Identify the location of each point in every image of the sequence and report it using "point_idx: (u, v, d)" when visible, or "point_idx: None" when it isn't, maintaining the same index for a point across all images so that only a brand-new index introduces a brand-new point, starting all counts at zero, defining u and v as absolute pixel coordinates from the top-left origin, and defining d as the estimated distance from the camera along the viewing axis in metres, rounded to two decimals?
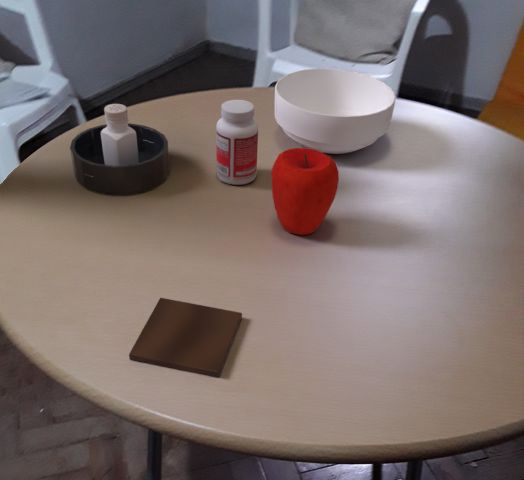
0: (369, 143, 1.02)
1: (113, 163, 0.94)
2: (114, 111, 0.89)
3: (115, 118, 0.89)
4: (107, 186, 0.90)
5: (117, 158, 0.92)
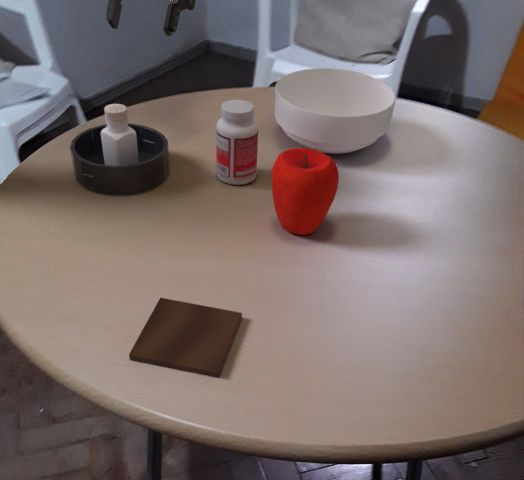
0: (369, 143, 1.02)
1: (113, 163, 0.94)
2: (114, 111, 0.89)
3: (115, 118, 0.89)
4: (107, 186, 0.90)
5: (117, 158, 0.92)
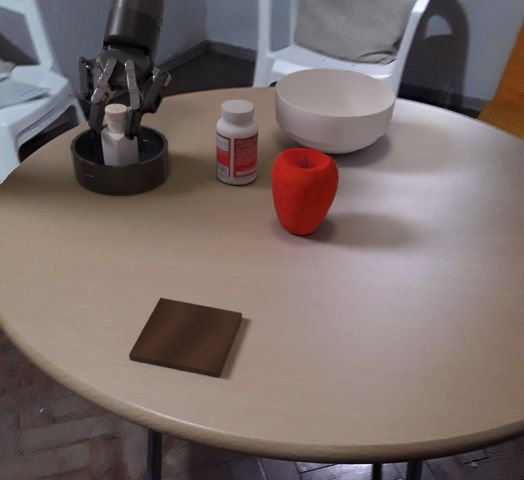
0: (369, 143, 1.02)
1: (113, 163, 0.94)
2: (115, 112, 0.89)
3: (116, 118, 0.89)
4: (107, 186, 0.90)
5: (117, 158, 0.92)
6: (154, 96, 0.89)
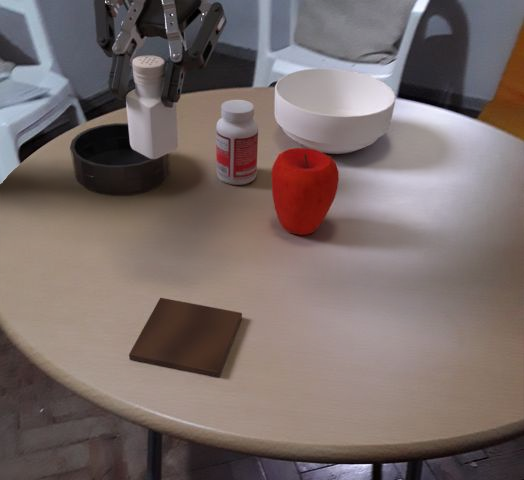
0: (369, 143, 1.02)
1: (143, 141, 0.66)
2: (148, 65, 0.62)
3: (149, 75, 0.62)
4: (107, 186, 0.90)
5: (149, 133, 0.65)
6: (204, 43, 0.61)
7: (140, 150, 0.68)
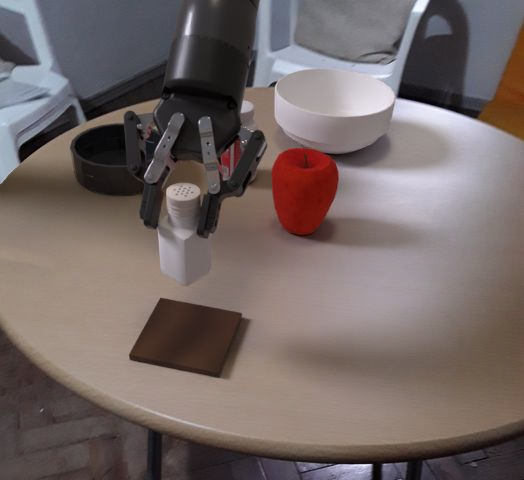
0: (369, 143, 1.02)
1: (175, 269, 0.62)
2: (183, 198, 0.57)
3: (184, 207, 0.57)
4: (107, 186, 0.90)
5: (183, 263, 0.60)
6: (244, 174, 0.57)
7: (172, 276, 0.63)
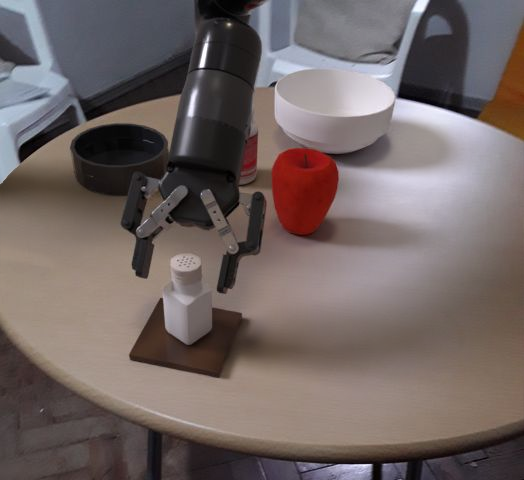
0: (369, 143, 1.02)
1: (179, 329, 0.67)
2: (186, 269, 0.63)
3: (187, 277, 0.63)
4: (107, 186, 0.90)
5: (186, 325, 0.66)
6: (257, 233, 0.62)
7: (175, 335, 0.69)
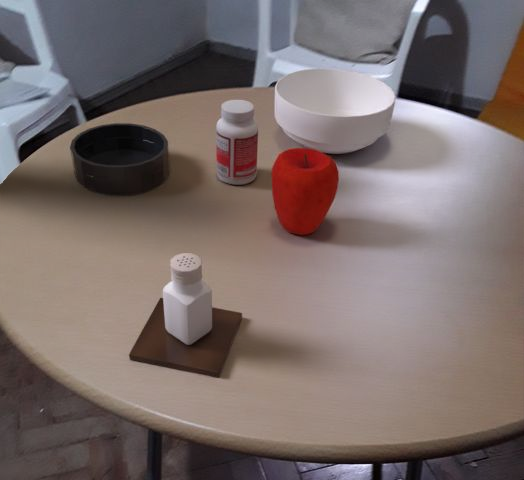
0: (369, 143, 1.02)
1: (179, 329, 0.67)
2: (186, 269, 0.63)
3: (187, 277, 0.63)
4: (107, 186, 0.90)
5: (186, 325, 0.66)
6: None
7: (175, 335, 0.69)
